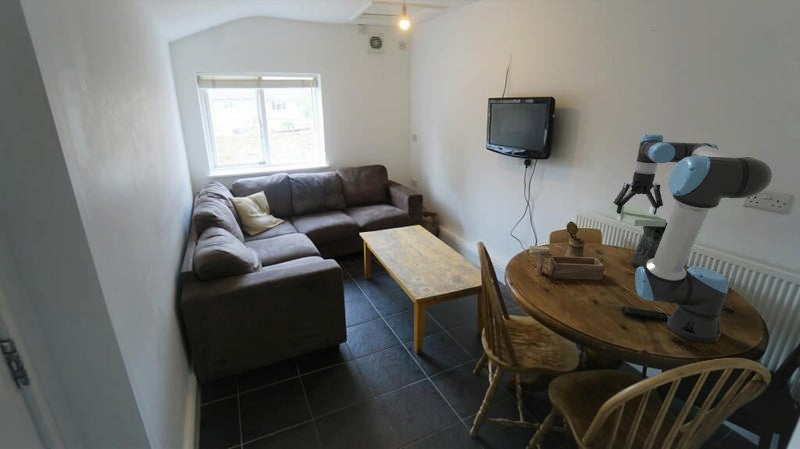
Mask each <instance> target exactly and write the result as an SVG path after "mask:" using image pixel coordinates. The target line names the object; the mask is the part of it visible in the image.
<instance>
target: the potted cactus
mask: <svg viewBox="0 0 800 449" xmlns="http://www.w3.org/2000/svg"><path fill="white" fill-rule="evenodd" d="M578 228H579V227H578V225H577V224H576V223H575V222H573V221H572V220H571V221H569V222H568V223H567V224H566V231H567V233H569V239H568V240H569V241H568V248H567V250H566V253H565V255H564V256H570V257H585V254H584V253H585V249H584V248H585V247H584V246H585V240H584V238H582V237H581V238H579V237H577V235H576V234H577V233H578V230H579V229H578Z"/></svg>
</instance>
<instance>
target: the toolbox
mask: <svg viewBox="0 0 800 449" xmlns="http://www.w3.org/2000/svg"><path fill="white" fill-rule="evenodd" d="M545 259H547V264H546V265H547V266H546V270H547V272H548V274H549V275H550V276H551V278H552V279H568V280H570V279H572V280H591V281H592V280H593V281H594V280H595V281H596V280H597V281H602V280H603V275H604V269H605V267H606V266H605V264H603V263H602V262H601V261H600V260H599V259H598V258H597V257H593V256H592V257H590V256H584V257H570V256H565V255H553V254H551V253H550V252H549V254H541V255H538V258H537V264H536V270H537V271H536V272H537V274H538V276H542V275H543V269H544V260H545Z"/></svg>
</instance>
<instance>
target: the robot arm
mask: <svg viewBox="0 0 800 449" xmlns="http://www.w3.org/2000/svg"><path fill="white" fill-rule="evenodd" d="M666 163H677V164H676V165H675V166H674V167H673V169H672V171H671V173H670V175H669V176H670V177H669V180H670V181H669V182H668V188H669V189H668V190H669V192H670V193H671V194H672V199H673V200H674V201H675V203H674V206H673V209H672V211H671V214H670V215H669V219H668V221H667V223H668V224H667V226H666V229H665V231H664V234H663V236H662V239H661V242H660V244H659V247H658V249H657V252H656V255H655V257H654V258H653V259H650V260H648V262H647V264H646V266H645V267H643V266H641V267H638V268H637V269H636V270H635V275H634V279H635V280H634V282H635V284H634V286H635V289H636V290H635V291H636V293H637V295H638V296H639V298H640V299H642V300H645V301H651V302H660V303H669V304H675V305H677V306H676V308H675V309H674V311H672V313H671V314H670V315H669V316H668V318H667V321H666V325H667V327H668V329H669V330H670V331H672V332H673V333H675V334H676V335H678V336H680V337H682V338H684V337H685V338H684V339H686V338H687V339H686V340H689V339H690V341H692V340H693V342H696V341H697V343H701V342H702V343H703V344H714V343H713V342H715V343H717V342H718V341H719V340H720V337H721V326H720V315H721V312H722V310H723V306H724V303H725V300H726V297H727V294H728V293H729V292H728V291H729V286H730V282H729V279H728V278H727V277H726V276H724V275H723V274H721V273H719V272H717V271H714V270H712V269H709V268H706V267H702V266H697V265H692V266H689V267H688V268H687V269H685V268H684V267H685V265H686V262H687V260H688V258H689V256H690V254H691V252H692V249H693V247H694V245H695V242H696V240H697V239H698V236H699V234H700V231H701V229H702V228H703V224H704V222H705V220H706V218H707V217H708V216H707V215H708V213H709V212H710V210H712V209H716V208H717V207H718V206H719V204H720V202H721V200H722V199H746V198H749V197H754V196H756V195H758V194H760V193H761V192H763V191H764V190H765V189H767V188H768V186H769V185H770V184H771V181H772V177H773V171H772V169H771V167H770V166H769V164H767V163H766V162H764V161H763V160H761V159H757V158H754V157H750V156H742V157H740V156H737V155H734V154H731V153H729V152H726V151H723V150H721V149H719V147H718V145H717V144H716V143H708V142H703V143H701V142H699V143H698V142H675V141H674V142H673V141H670V142H669V141H664V136H663V134H659V133H658V134H655V133H645V134H643V135H642V136H641V139H640V141H639V148H638V152H637V157H636V161H635V167H634V170H635V171H634V172H633V176H632V177H633V178H632V182H631V183H627V182H624V184H623V186H622V189H621V190H620V191H619V193H618V195H617V196H616V198H615V199H614V201H613V205H617V206H618V207H617V213H618V215H617V217H616V220H617V221H619V222H623V218H622V217H623V212H624V207H623V205H626V204H627V203H628V202H629V201H630V200H631V199H632V198H633V197H634V196H636V195H646V197H647V199H648V201H649V202H650V204H651V206H649V208H648V209H649V210H648V211H649V212H650V213H652V214H654V215H657V212H658V211H657V210H658V209H659V208H660V207H663V206H664V203H663V198H662V194H661V184H659V183H654V180H655V176H656V174H655V173H656V172H657V168H658V164H666ZM653 183H654V184H653ZM629 189H630V190H629ZM652 189H653V193H654V196H655V197H654V196H653V193H652V191H651V190H652ZM627 192H628V193H627ZM702 343H701V344H702Z"/></svg>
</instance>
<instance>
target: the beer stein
mask: <svg viewBox="0 0 800 449" xmlns="http://www.w3.org/2000/svg"><path fill="white" fill-rule="evenodd" d="M663 219H664V220H666V219H665V218H663ZM667 224H668V221H666V224H665V227H661V226H642V231H643V233H642V235H641V238H640V240H639V243H638V246H637V248H636V250H635V252H634V254H633V255H632V256H631V266H632V267H633V268H634V269H636V270H637V268H638V267H641V266H643V267H645V266H646V264H647V262H648V260H650V259H653V258H654V257H655V255H656V252H657V249H658V247H659V244H660V242H661V239H662V236H663V234H664V231H665V229H666V226H667Z"/></svg>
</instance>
